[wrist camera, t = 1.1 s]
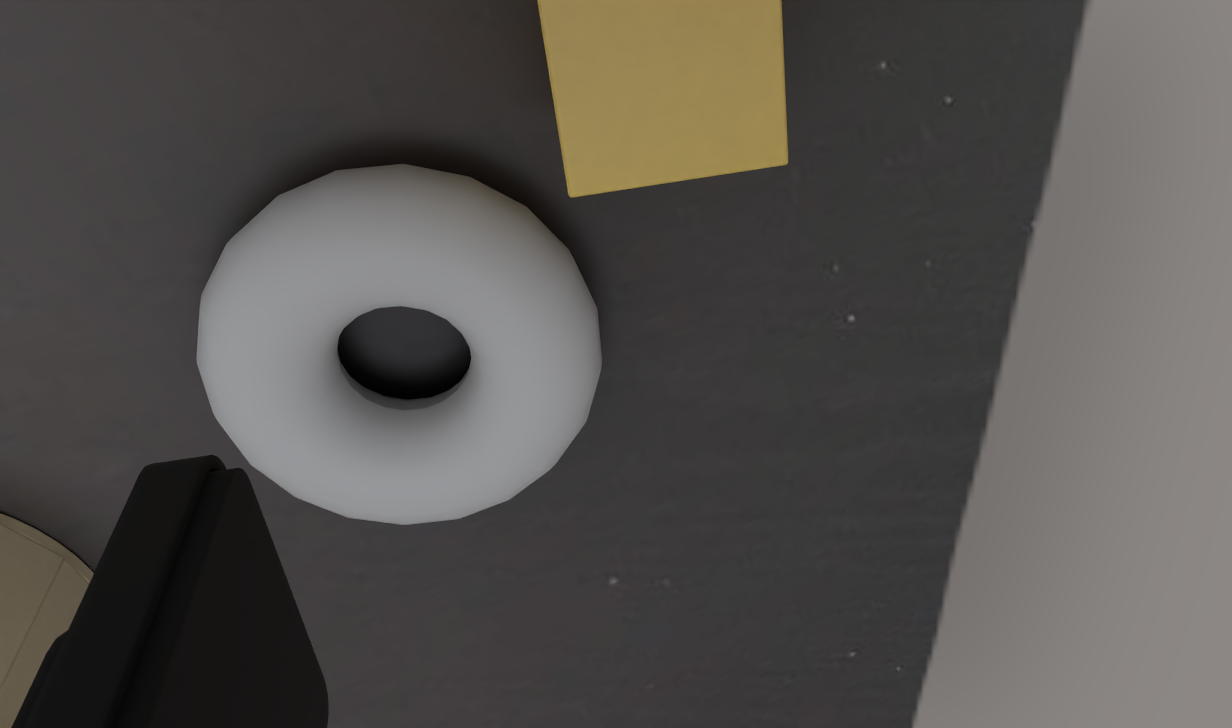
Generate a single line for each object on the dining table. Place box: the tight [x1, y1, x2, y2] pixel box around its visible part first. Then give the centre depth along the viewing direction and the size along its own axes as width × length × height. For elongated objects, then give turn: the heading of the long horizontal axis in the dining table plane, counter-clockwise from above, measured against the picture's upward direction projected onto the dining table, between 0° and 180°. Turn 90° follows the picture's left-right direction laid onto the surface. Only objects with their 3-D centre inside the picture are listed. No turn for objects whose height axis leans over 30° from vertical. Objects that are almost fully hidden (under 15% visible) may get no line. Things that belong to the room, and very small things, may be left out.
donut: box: [196, 164, 602, 525], centre depth 28 cm, size 10×3×10 cm
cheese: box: [537, 0, 788, 197], centre depth 23 cm, size 6×4×5 cm
